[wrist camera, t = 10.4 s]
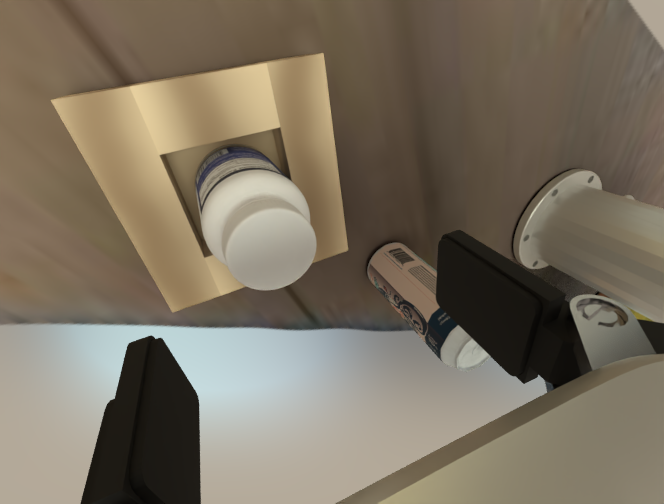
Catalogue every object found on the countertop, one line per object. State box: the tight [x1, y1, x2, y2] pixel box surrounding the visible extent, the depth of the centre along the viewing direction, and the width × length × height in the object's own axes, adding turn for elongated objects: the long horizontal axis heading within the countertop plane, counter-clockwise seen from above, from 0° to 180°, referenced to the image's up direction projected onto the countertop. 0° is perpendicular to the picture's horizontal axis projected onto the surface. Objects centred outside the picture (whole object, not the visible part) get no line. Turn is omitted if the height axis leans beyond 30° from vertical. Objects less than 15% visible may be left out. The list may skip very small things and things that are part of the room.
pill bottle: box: [195, 144, 317, 290], centre depth 17 cm, size 5×5×10 cm
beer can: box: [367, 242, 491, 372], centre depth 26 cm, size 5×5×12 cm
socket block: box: [51, 53, 348, 312], centre depth 20 cm, size 13×13×3 cm
